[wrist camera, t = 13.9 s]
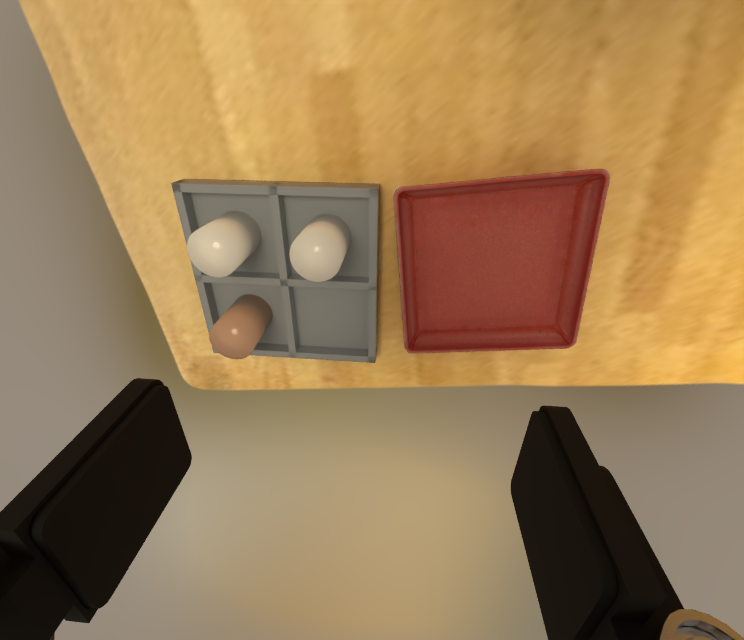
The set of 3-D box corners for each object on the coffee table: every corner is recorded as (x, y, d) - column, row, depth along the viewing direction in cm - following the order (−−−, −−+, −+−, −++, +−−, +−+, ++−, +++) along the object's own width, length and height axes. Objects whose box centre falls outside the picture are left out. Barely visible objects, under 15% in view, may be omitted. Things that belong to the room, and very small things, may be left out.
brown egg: (229, 293, 42) (204, 320, 37) (269, 295, 42) (249, 322, 37) (237, 328, 45) (214, 357, 39) (274, 330, 44) (256, 360, 39)
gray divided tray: (184, 178, 37) (171, 183, 35) (379, 183, 36) (378, 188, 34) (222, 342, 47) (213, 352, 45) (376, 351, 45) (375, 362, 43)
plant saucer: (565, 333, 42) (576, 349, 39) (405, 339, 45) (404, 355, 42) (595, 161, 33) (613, 167, 31) (393, 180, 36) (392, 187, 33)
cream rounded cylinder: (304, 212, 37) (286, 230, 32) (350, 214, 37) (340, 232, 31) (307, 257, 39) (292, 280, 34) (351, 258, 39) (342, 283, 34)
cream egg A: (213, 209, 38) (181, 227, 32) (257, 211, 37) (232, 228, 32) (221, 253, 40) (193, 276, 35) (264, 255, 40) (241, 278, 34)
